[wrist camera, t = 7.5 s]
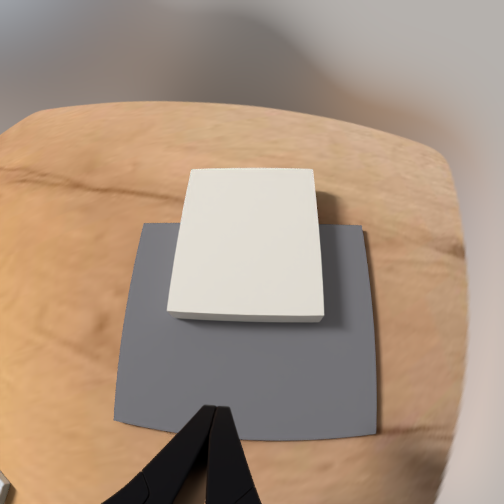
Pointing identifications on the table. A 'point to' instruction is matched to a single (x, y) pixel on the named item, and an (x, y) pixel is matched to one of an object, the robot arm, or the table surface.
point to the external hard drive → (3, 488)
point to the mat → (251, 353)
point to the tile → (248, 247)
